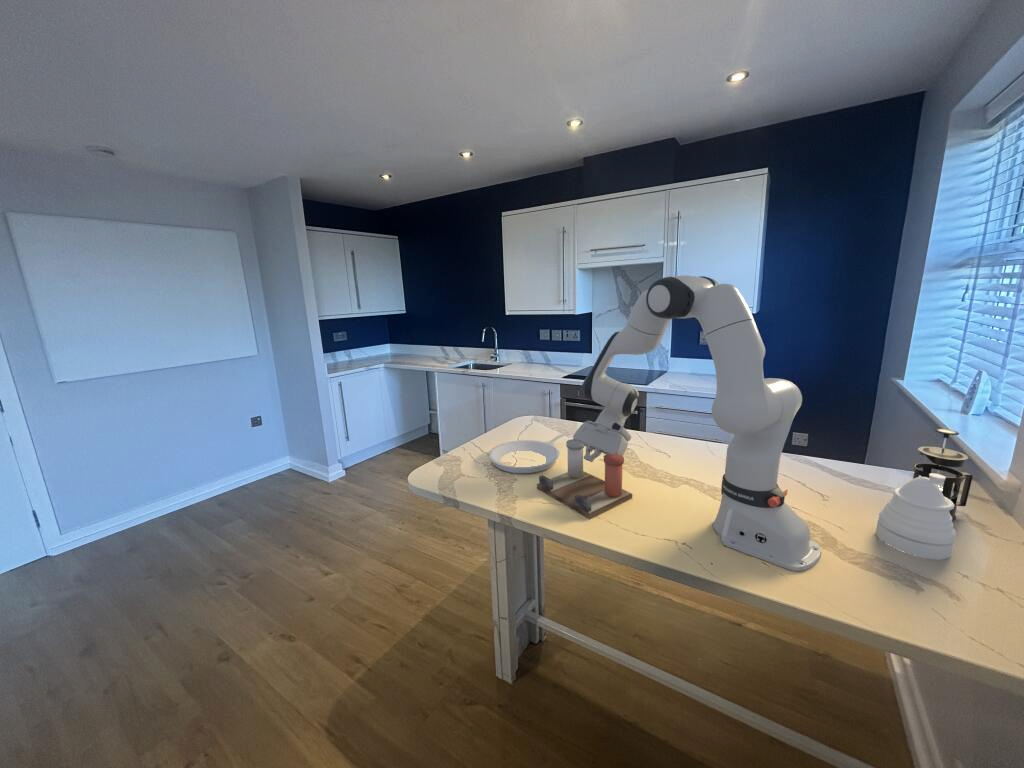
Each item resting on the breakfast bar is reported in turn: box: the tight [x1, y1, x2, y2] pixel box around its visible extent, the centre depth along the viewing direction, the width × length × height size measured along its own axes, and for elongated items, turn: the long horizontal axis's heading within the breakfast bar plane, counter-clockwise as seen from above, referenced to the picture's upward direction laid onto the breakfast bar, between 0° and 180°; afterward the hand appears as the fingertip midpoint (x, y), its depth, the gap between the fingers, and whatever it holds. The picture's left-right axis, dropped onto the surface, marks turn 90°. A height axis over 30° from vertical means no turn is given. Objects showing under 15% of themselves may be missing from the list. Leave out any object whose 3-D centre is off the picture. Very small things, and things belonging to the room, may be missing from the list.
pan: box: [488, 431, 571, 475], centre depth 153 cm, size 26×39×5 cm
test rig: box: [536, 470, 633, 520], centre depth 124 cm, size 23×18×4 cm
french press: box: [912, 428, 973, 522], centre depth 105 cm, size 12×9×23 cm
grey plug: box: [565, 438, 585, 478], centre depth 131 cm, size 6×6×11 cm
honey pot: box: [875, 472, 957, 560], centre depth 93 cm, size 13×13×18 cm
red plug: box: [603, 454, 625, 497], centre depth 119 cm, size 6×6×11 cm
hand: (587, 460), depth 135 cm, fingers closed
